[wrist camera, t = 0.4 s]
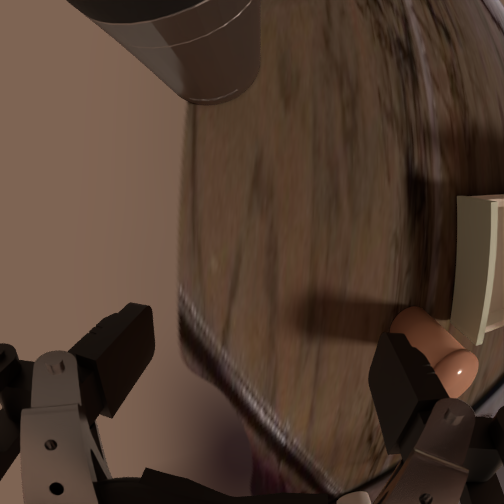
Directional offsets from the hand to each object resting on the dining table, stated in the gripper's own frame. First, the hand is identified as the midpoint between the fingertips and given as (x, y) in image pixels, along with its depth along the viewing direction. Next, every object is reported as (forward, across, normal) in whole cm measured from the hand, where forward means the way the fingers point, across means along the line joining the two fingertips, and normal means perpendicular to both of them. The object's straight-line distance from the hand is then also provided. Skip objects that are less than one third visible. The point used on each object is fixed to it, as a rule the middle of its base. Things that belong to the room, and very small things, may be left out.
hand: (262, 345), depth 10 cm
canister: (+20, -16, +10) cm, 28 cm away
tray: (+21, -27, 0) cm, 34 cm away
